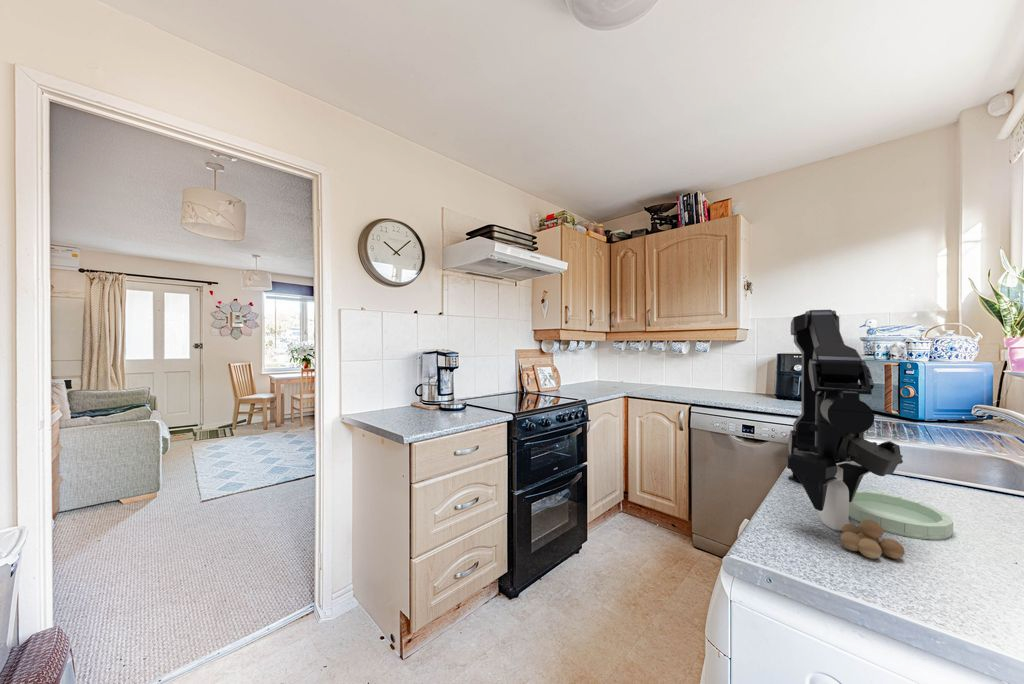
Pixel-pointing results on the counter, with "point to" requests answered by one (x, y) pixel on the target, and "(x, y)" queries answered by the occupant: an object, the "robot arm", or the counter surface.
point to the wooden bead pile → (870, 540)
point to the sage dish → (901, 515)
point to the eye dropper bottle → (836, 503)
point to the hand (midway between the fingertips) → (833, 505)
